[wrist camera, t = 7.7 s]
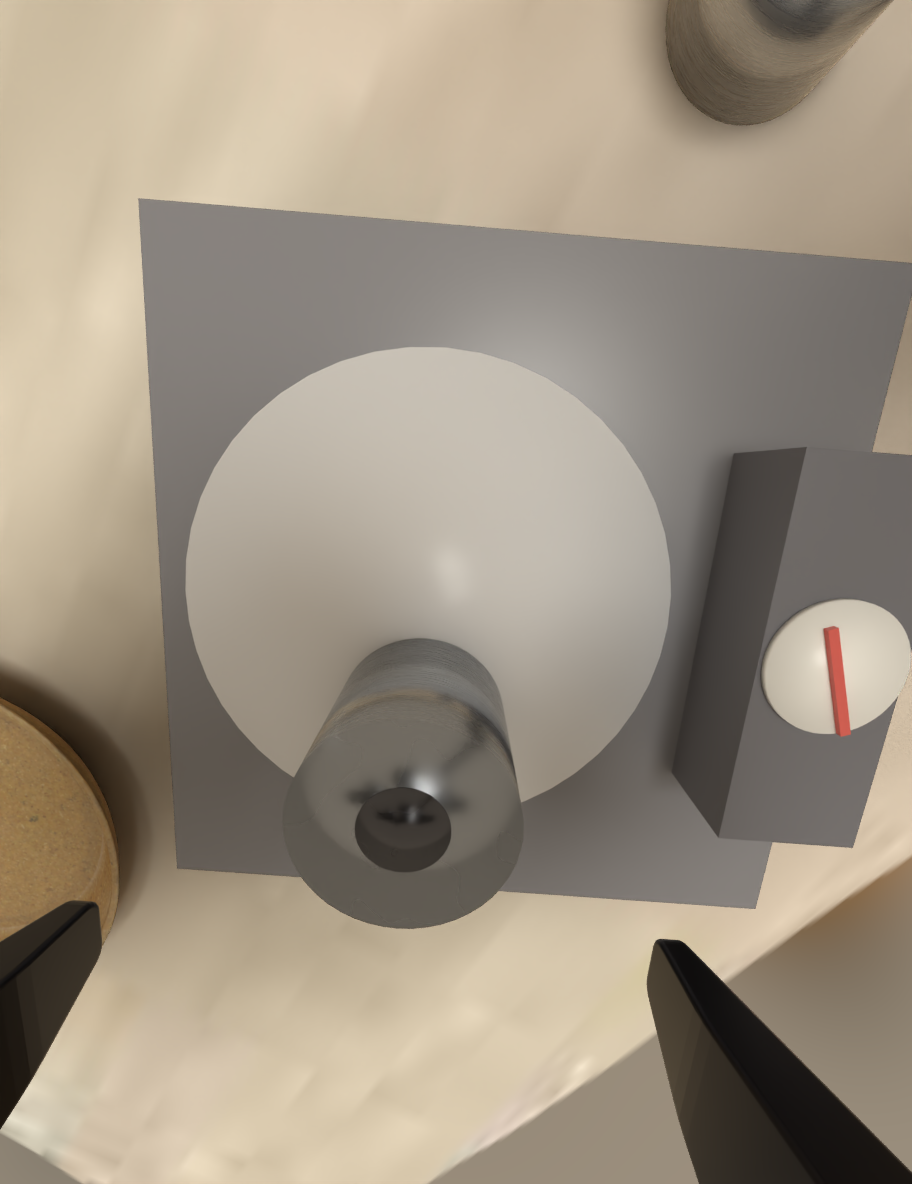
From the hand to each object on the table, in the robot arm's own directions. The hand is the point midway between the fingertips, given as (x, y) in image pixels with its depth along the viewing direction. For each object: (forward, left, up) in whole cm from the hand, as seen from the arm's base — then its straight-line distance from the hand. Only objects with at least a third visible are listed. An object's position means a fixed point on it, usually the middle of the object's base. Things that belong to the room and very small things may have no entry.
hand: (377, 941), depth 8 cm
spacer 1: (0, 0, -7) cm, 7 cm away
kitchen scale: (-2, -4, -11) cm, 12 cm away
